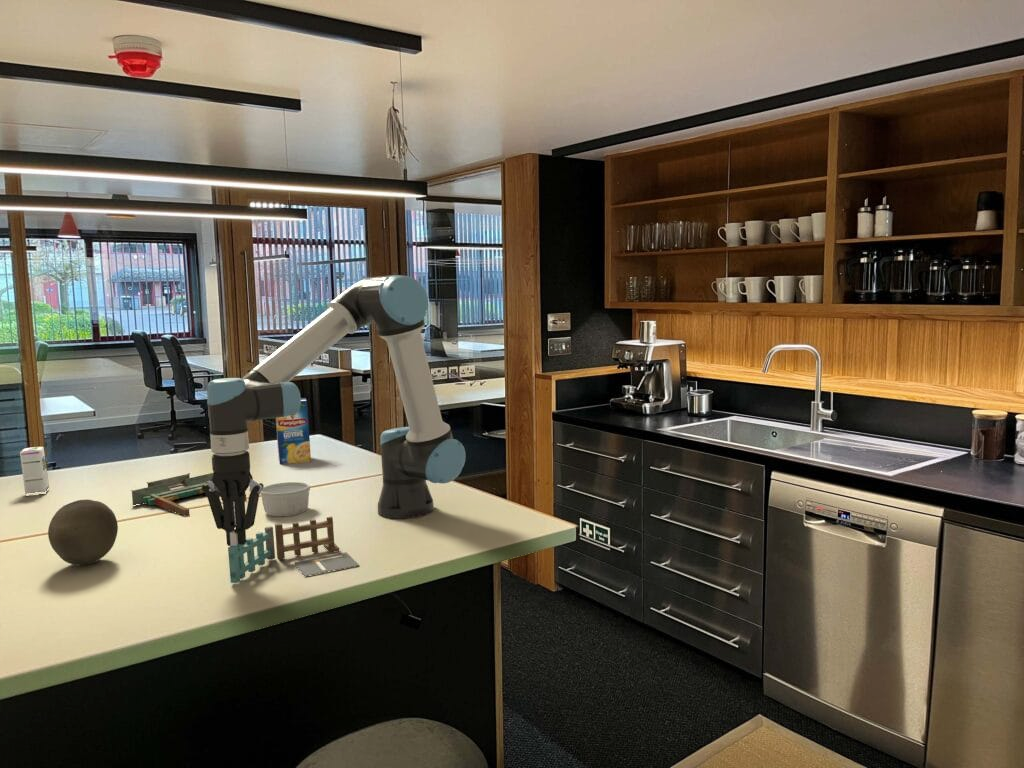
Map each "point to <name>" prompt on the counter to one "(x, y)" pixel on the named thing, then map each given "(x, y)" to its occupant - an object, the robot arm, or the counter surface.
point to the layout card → (326, 564)
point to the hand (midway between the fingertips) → (237, 560)
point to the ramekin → (285, 498)
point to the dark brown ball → (83, 531)
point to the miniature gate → (171, 491)
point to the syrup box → (34, 470)
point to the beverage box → (294, 436)
